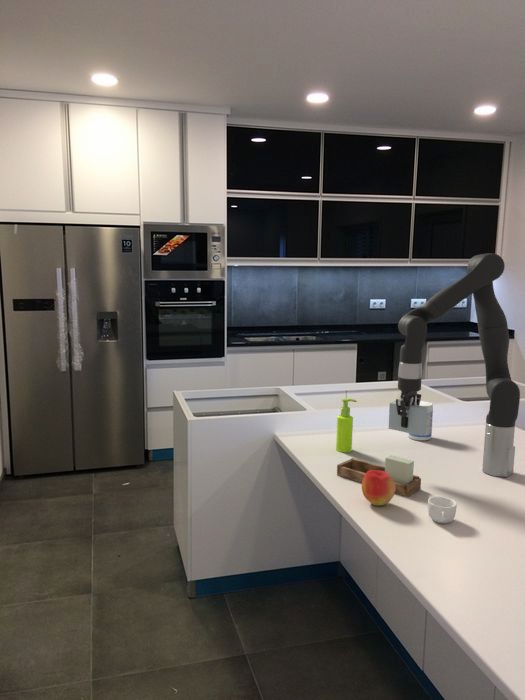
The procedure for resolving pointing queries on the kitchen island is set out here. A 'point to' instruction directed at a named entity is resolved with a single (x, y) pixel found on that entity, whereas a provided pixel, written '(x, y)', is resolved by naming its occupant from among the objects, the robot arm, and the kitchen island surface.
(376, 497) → the apple
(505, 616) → the kitchen island surface
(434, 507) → the teacup
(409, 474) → the seated panel
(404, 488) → the wooden tray
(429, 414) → the supplement tub
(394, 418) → the blue-grey rectangular block
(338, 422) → the soap dispenser
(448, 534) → the kitchen island surface
